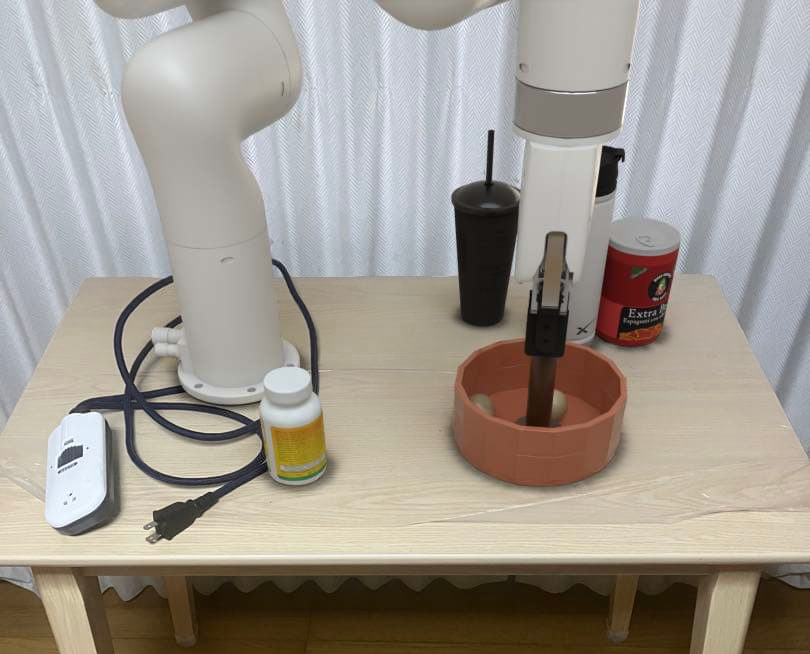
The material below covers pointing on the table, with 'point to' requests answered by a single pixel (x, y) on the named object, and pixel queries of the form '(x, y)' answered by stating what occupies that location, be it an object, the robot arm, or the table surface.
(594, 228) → the travel mug
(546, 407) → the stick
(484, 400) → the bead
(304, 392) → the supplement bottle
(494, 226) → the drinking cup
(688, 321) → the table surface
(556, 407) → the bead
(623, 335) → the canned food
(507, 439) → the bowl
